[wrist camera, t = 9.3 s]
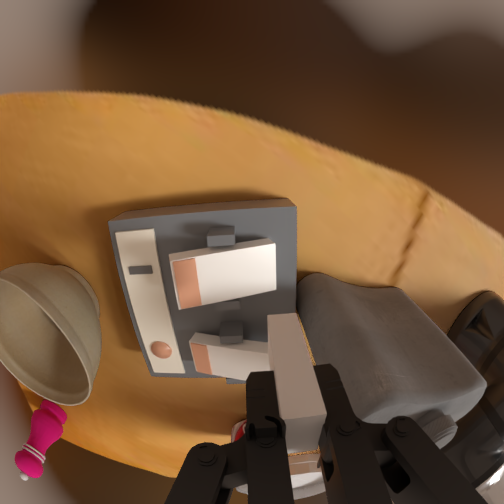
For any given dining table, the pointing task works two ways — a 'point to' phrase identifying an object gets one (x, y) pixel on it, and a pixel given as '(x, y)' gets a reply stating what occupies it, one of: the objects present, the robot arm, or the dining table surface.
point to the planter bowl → (50, 331)
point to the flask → (388, 355)
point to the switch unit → (162, 286)
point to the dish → (305, 475)
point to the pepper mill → (40, 439)
